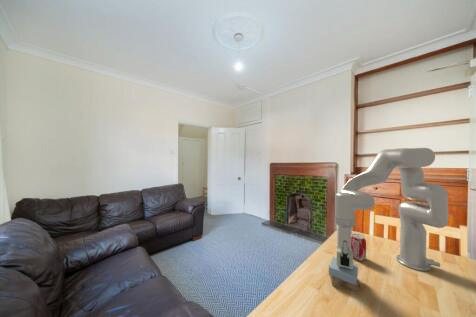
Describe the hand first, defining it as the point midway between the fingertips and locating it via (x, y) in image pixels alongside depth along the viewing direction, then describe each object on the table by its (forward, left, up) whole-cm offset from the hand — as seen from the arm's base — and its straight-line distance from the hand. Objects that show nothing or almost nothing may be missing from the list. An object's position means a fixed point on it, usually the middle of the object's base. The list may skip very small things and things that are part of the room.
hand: (344, 261), depth 79 cm
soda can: (-7, -24, -9) cm, 26 cm away
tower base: (+1, 0, -9) cm, 9 cm away
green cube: (0, 0, -1) cm, 1 cm away
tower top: (0, 0, -6) cm, 6 cm away
